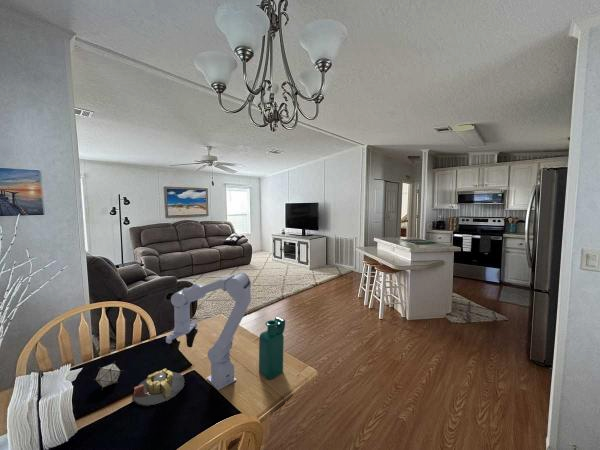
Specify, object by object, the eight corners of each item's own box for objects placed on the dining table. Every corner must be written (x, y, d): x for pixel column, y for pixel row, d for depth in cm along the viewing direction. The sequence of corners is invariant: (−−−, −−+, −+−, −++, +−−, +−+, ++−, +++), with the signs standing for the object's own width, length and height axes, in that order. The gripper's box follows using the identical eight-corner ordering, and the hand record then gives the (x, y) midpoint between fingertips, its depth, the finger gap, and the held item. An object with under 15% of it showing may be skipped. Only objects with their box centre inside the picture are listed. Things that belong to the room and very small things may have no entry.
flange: (192, 388, 98) (191, 376, 98) (141, 414, 86) (141, 400, 86) (174, 368, 110) (174, 357, 110) (127, 388, 98) (127, 376, 97)
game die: (111, 390, 102) (123, 362, 107) (117, 392, 96) (130, 362, 102) (85, 388, 97) (99, 358, 102) (90, 390, 91) (105, 359, 97)
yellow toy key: (180, 390, 95) (180, 380, 95) (155, 403, 89) (154, 392, 89) (167, 374, 104) (167, 365, 104) (143, 385, 98) (143, 375, 97)
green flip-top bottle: (269, 381, 104) (270, 328, 102) (256, 371, 109) (257, 321, 108) (287, 370, 111) (288, 321, 109) (274, 362, 116) (275, 314, 115)
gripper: (188, 311, 114) (188, 340, 115) (159, 325, 100) (160, 358, 101) (200, 313, 111) (201, 344, 112) (173, 328, 98) (174, 363, 99)
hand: (182, 351), depth 106 cm, fingers open, 7 cm apart
